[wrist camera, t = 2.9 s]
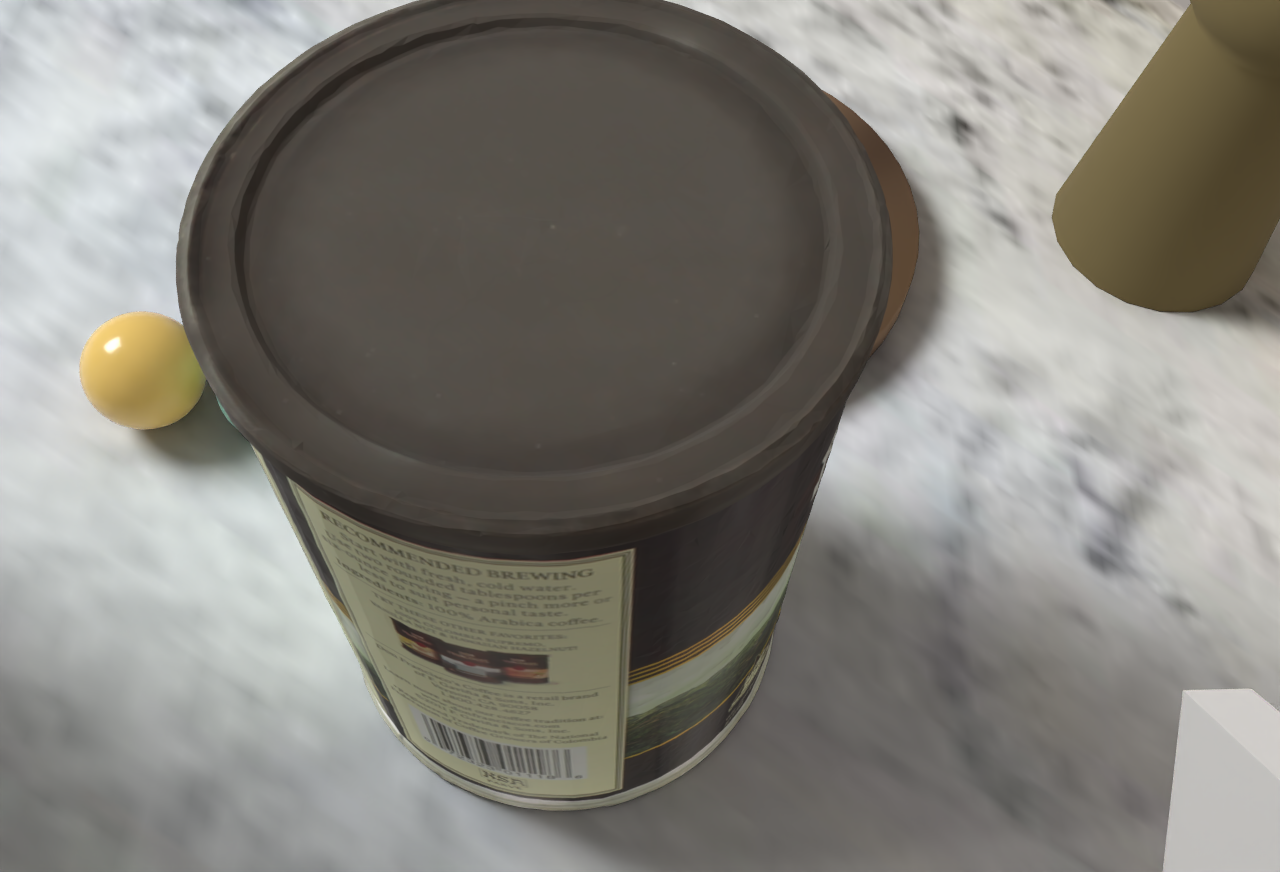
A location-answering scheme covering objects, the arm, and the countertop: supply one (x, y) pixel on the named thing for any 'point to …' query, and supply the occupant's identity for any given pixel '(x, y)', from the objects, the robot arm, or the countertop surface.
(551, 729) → the coffee can
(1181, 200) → the cork
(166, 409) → the marble amber
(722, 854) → the countertop surface
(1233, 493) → the countertop surface
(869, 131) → the trivet
